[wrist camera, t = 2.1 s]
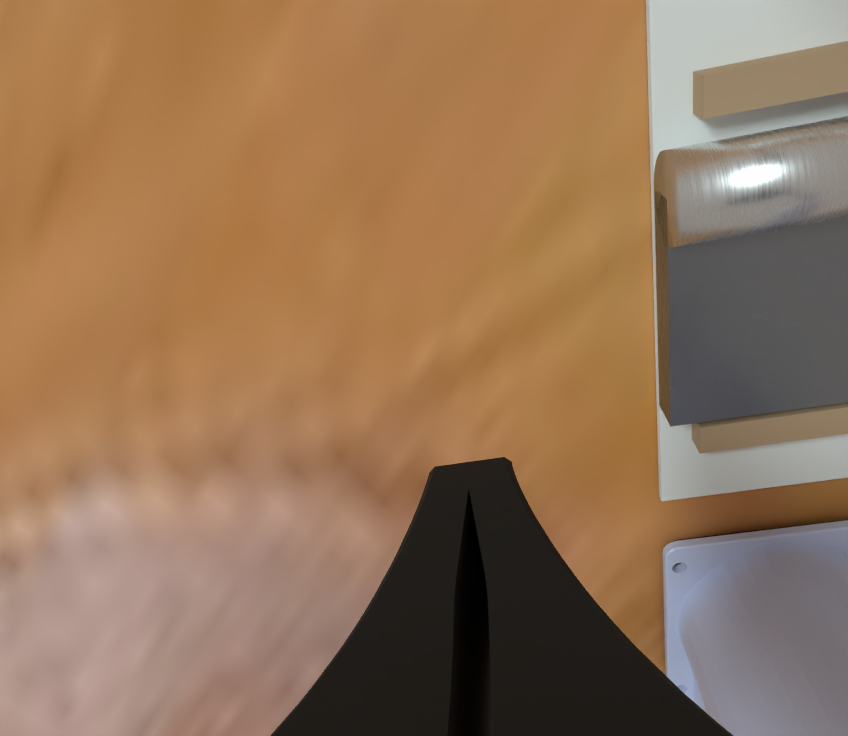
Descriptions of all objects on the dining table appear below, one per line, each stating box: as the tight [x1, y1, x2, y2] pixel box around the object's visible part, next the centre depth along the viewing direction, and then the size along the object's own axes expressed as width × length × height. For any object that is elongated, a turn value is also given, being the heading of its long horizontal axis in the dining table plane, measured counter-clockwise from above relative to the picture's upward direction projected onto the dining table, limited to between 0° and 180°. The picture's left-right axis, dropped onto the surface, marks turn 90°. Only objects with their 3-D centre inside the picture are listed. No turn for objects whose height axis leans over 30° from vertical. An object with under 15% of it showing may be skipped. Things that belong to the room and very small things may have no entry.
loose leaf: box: [654, 116, 848, 427], centre depth 18 cm, size 8×7×2 cm
